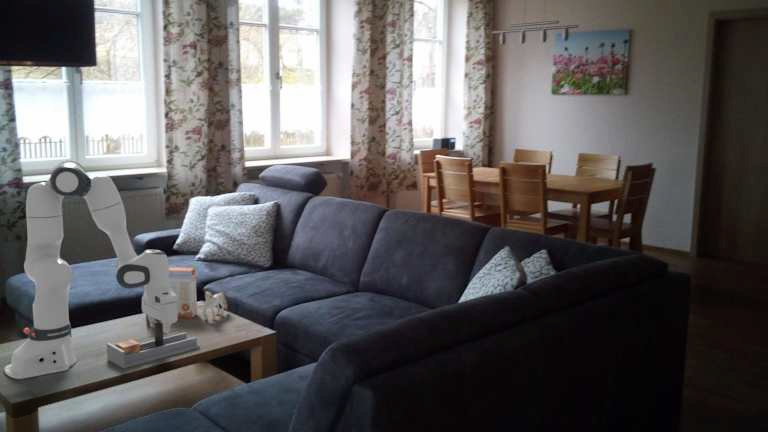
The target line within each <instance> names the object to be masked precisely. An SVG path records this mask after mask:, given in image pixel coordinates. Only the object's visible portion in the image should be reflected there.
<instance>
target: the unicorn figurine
mask: <svg viewBox="0 0 768 432" xmlns="http://www.w3.org/2000/svg"><path fill="white" fill-rule="evenodd" d="M204 299H205V301H204V307H203V310H202V315H203V318H204V320H205V321H208V319H209V318H208V314H206V311H207V310H208V309H211V313H212V319H211V321H212V322H213V321H215V320H216V316H219V315H220V316H221V318H222V317H224V311H225V310H227V309H228V303H227V300H226V295H225V293H224V292H219V293H216V294H212V292H209V291H206V292H205V294H204ZM214 307H216V308H217V312H216V313H215V310H214V309H215V308H214ZM220 307H221V310H220ZM224 309H225V310H224Z"/></svg>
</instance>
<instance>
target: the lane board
mask: <svg viewBox="0 0 768 432" xmlns="http://www.w3.org/2000/svg"><path fill="white" fill-rule="evenodd" d="M187 337H188V335H187V332H181V333H178V334H174V335H169V336H165V337H163V340H164V345H163V346H159V347H155V348H151V349H147V350H143V351H140V352H136V353H132V354H128V355H125V351H123V350H121V349H120V348H118V347H116V345H114V344H112V343H110V342H108V343H106V355H107V361H110V362H111V363H113V364H115V365H116V366H118V367H119V368H122V369H126V368H129V367H130V368H131V367H133V366H138V365H141V364H142V365H143V364H144V363H148V362H153V361H155V360H159V359H164V358H167V357H171V356H175V355H178V354H182V353H185V352H189V351H192V350H197V349H200V346H201V345H199V344H198V338H197V337H196V336H194V337H190V338H187ZM151 346H155V339H154V340H150V341H146V342H142V343H140V349H143V348H147V347H151Z"/></svg>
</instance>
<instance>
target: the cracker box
mask: <svg viewBox="0 0 768 432" xmlns="http://www.w3.org/2000/svg"><path fill="white" fill-rule="evenodd" d="M196 275H197V274H196V267H172V266H171V267H170V266H169V277H168V279H169V282H170V288H171V289H172V291H173V292H174V293H175V294H176V295H177V301H175V302H176V304H177V315H178V318H186V319H187V318H188V319H189V318H192V319H193V318H194V317H195V316H196V315H197V314H198V302H197V300H198V299H197V276H196Z"/></svg>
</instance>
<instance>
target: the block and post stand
mask: <svg viewBox="0 0 768 432" xmlns="http://www.w3.org/2000/svg"><path fill="white" fill-rule="evenodd" d="M163 328H164V322H162V321H161V322H157V323H154V328H153V329H154V340H155V346H151V347H147V348H143V349H140V344H141V343H139V342H137V341H136V340H134V339H129V340H125V341H121V342H117V343H116V344H115V346H116V347H118V348H120V349H121V350H123V351H125V355H128V354H132V353H136V352H140V351H143V350H147V349H151V348H155V347H159V346H163V345H164V340H163V338H164V332H163Z"/></svg>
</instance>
